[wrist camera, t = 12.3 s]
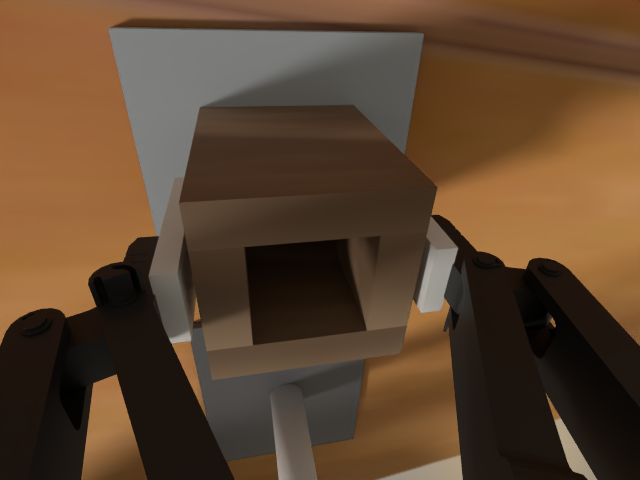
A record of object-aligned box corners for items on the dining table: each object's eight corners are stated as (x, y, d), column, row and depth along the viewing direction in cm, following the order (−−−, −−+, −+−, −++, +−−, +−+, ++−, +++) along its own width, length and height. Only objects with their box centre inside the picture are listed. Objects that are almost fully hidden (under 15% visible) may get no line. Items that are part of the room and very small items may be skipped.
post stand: (352, 433, 35) (399, 605, 26) (217, 457, 33) (212, 655, 24) (370, 303, 27) (453, 489, 17) (188, 323, 25) (162, 551, 15)
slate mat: (383, 261, 25) (386, 267, 24) (170, 281, 22) (169, 288, 22) (418, 32, 18) (424, 33, 17) (111, 26, 15) (108, 28, 15)
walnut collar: (343, 230, 22) (400, 353, 15) (217, 240, 21) (212, 380, 14) (353, 104, 18) (437, 187, 11) (199, 107, 17) (178, 202, 10)
